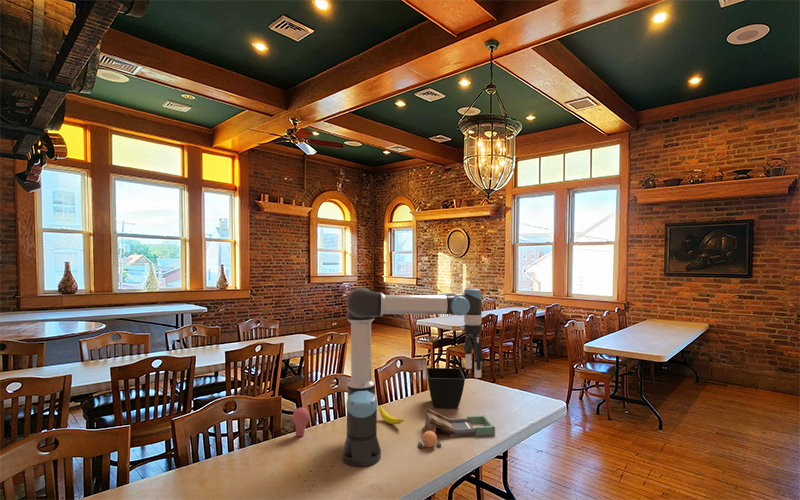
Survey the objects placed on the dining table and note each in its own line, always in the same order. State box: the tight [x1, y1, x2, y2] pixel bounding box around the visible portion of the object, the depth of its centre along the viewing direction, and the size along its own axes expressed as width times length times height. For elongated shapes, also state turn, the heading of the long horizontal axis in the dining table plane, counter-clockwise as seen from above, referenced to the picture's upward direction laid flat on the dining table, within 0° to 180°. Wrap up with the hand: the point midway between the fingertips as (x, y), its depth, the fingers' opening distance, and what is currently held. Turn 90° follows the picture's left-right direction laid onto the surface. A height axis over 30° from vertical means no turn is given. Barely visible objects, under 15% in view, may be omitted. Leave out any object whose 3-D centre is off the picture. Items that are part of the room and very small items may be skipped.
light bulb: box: [292, 407, 310, 437], centre depth 168 cm, size 7×7×12 cm
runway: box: [449, 417, 476, 437], centre depth 175 cm, size 10×12×3 cm
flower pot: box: [426, 367, 466, 409], centre depth 207 cm, size 19×19×17 cm
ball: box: [422, 430, 438, 448], centre depth 159 cm, size 6×6×6 cm
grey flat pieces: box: [417, 440, 442, 449], centre depth 159 cm, size 9×3×1 cm, turn 96°
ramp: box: [424, 407, 456, 437], centre depth 174 cm, size 12×12×8 cm
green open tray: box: [466, 414, 496, 437], centre depth 176 cm, size 9×13×4 cm, turn 6°
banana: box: [378, 404, 405, 425], centre depth 182 cm, size 3×19×6 cm, turn 39°
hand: (473, 372), depth 170 cm, fingers open, 13 cm apart
